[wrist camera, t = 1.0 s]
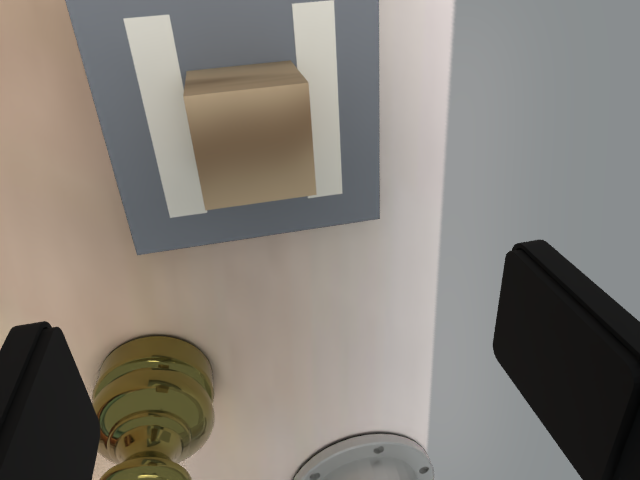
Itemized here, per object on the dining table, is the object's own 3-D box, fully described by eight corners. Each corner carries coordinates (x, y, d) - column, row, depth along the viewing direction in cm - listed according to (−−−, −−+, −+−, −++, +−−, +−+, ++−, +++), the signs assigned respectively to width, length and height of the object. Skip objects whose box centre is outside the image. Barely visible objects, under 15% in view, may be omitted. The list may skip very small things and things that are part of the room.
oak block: (298, 156, 28) (316, 194, 23) (205, 169, 27) (205, 210, 23) (290, 60, 25) (308, 82, 21) (186, 70, 24) (183, 96, 20)
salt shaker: (228, 345, 34) (236, 475, 26) (193, 422, 37) (190, 563, 29) (114, 321, 32) (82, 457, 23) (86, 406, 34) (47, 556, 26)
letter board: (373, 210, 31) (379, 219, 30) (139, 244, 30) (137, 255, 28) (371, -52, 24) (378, -53, 23) (63, -30, 22) (56, -29, 21)
